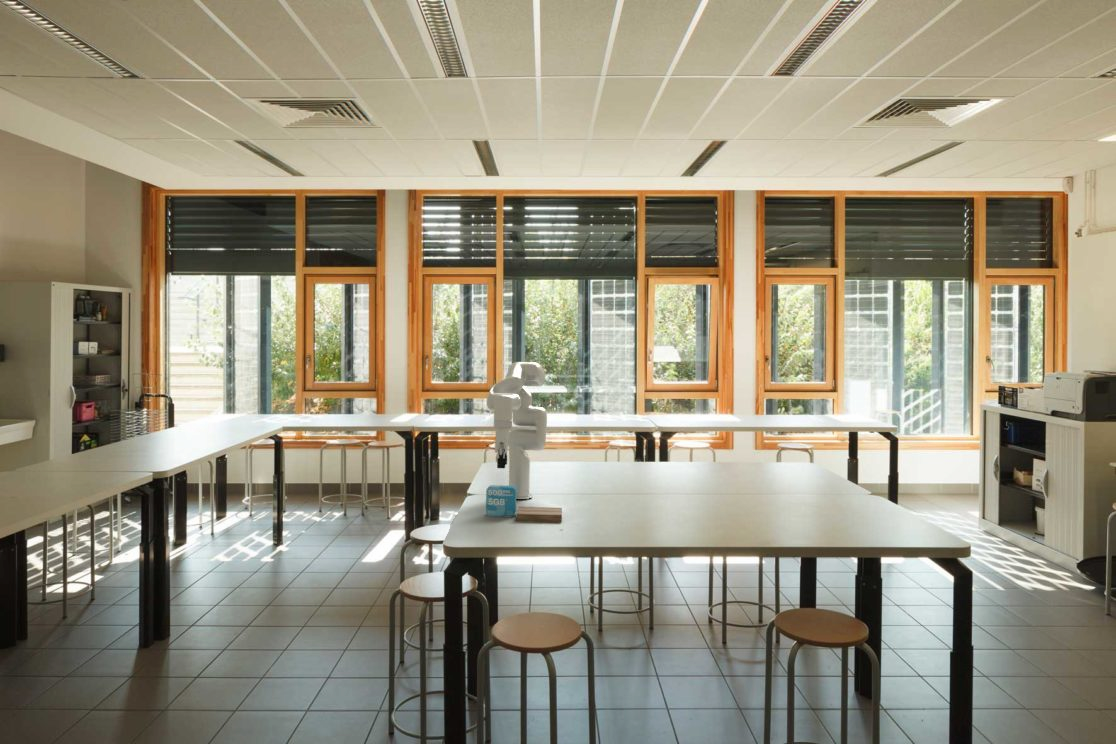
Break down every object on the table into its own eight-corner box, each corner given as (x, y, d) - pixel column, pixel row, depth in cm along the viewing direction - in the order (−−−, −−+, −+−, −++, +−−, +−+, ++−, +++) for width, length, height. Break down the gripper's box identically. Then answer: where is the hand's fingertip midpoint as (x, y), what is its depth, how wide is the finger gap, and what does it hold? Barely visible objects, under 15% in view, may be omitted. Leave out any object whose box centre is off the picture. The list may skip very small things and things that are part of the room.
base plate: (518, 514, 316) (518, 506, 316) (561, 515, 316) (561, 507, 316) (516, 521, 302) (516, 514, 302) (561, 522, 302) (561, 515, 302)
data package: (485, 516, 311) (486, 486, 311) (487, 513, 316) (487, 484, 315) (514, 517, 310) (515, 487, 310) (516, 514, 315) (516, 485, 315)
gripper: (495, 422, 320) (494, 463, 321) (491, 426, 303) (491, 469, 304) (513, 422, 320) (512, 463, 321) (510, 427, 303) (509, 469, 304)
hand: (502, 466), depth 312 cm, fingers open, 9 cm apart
